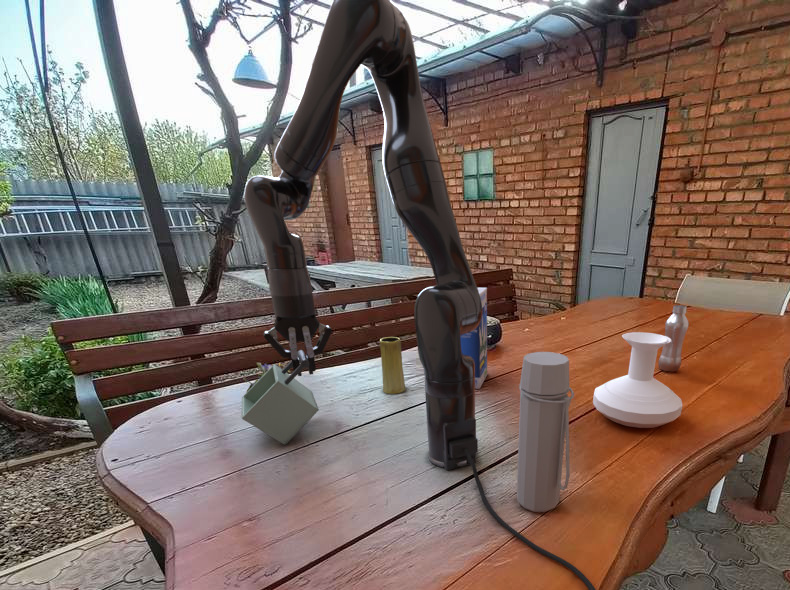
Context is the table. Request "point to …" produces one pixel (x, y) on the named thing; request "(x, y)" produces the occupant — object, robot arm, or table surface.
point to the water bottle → (543, 430)
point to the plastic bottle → (674, 339)
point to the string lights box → (478, 343)
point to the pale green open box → (280, 402)
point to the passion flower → (264, 369)
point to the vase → (392, 365)
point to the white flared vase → (639, 388)
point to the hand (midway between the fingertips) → (305, 373)
